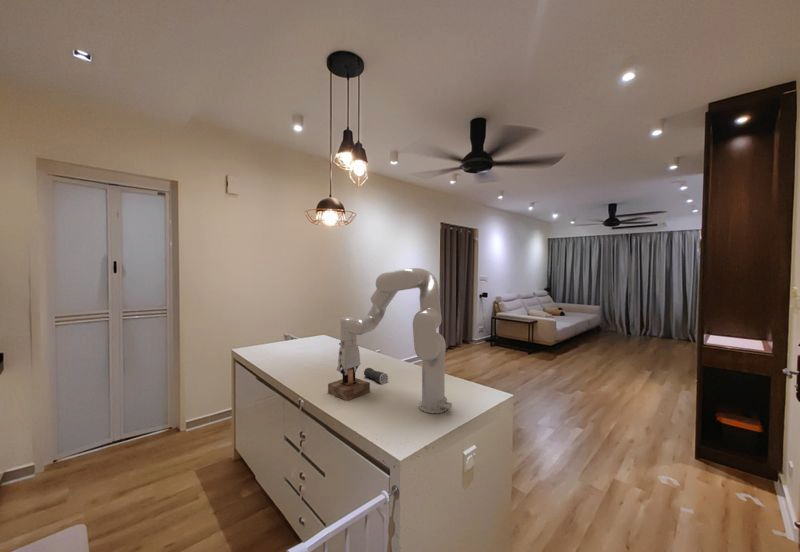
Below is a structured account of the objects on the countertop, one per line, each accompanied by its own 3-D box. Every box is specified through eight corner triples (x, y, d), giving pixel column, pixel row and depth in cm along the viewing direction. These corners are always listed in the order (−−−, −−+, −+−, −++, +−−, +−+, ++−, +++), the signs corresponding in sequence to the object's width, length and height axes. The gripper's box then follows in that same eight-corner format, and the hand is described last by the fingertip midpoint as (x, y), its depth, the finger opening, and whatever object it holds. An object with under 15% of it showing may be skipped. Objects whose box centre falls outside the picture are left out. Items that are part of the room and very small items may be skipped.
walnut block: (369, 391, 150) (369, 382, 150) (346, 401, 139) (346, 391, 139) (351, 385, 159) (351, 376, 159) (328, 393, 148) (328, 383, 148)
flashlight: (362, 377, 170) (362, 367, 170) (370, 375, 174) (370, 365, 174) (380, 385, 159) (379, 374, 159) (388, 382, 162) (388, 372, 162)
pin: (355, 385, 149) (354, 369, 149) (348, 388, 146) (348, 371, 146) (349, 383, 152) (349, 367, 152) (343, 385, 149) (342, 369, 149)
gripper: (339, 347, 140) (339, 388, 140) (366, 341, 152) (367, 378, 153) (329, 345, 145) (329, 384, 145) (356, 339, 157) (357, 375, 158)
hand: (349, 381), depth 149 cm, fingers closed on pin, 3 cm apart
